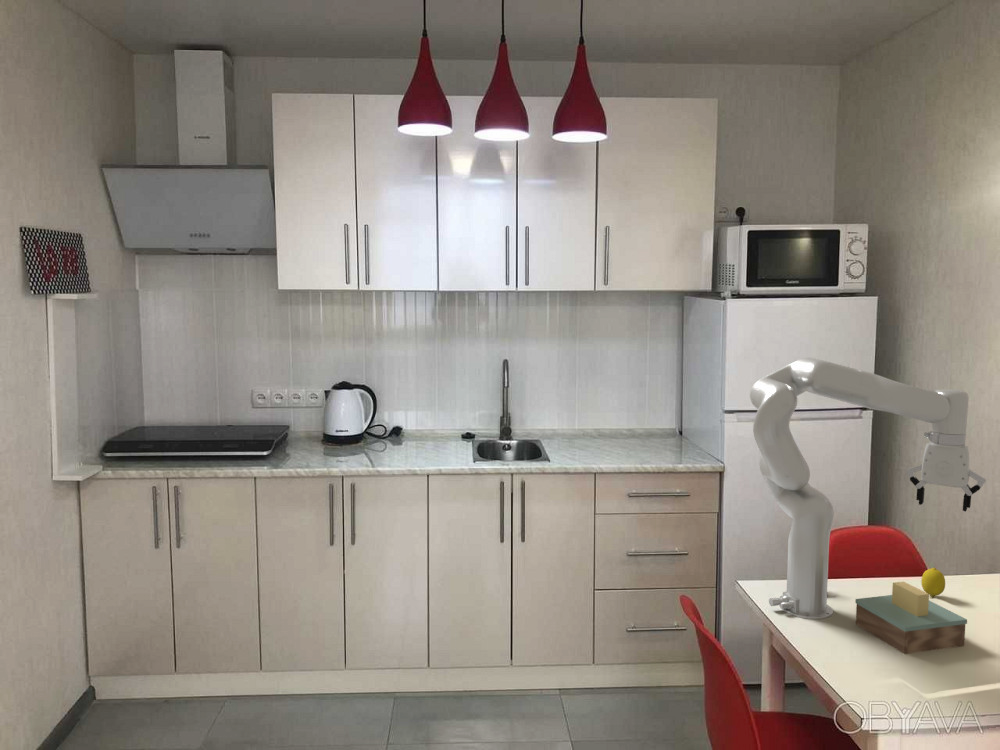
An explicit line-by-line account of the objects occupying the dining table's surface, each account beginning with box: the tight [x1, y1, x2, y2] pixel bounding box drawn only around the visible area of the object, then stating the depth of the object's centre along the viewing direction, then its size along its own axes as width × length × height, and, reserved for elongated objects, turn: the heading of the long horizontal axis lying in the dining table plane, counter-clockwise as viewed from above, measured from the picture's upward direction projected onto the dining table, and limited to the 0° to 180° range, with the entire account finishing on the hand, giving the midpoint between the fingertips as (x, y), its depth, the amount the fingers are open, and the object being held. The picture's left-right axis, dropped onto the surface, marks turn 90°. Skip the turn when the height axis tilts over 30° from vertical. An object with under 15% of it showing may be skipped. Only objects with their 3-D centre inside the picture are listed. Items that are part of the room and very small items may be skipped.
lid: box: [855, 581, 968, 632], centre depth 184 cm, size 16×16×6 cm
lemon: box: [920, 567, 946, 598], centre depth 208 cm, size 6×6×8 cm
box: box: [855, 604, 966, 655], centre depth 184 cm, size 16×16×6 cm
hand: (942, 506), depth 197 cm, fingers open, 9 cm apart
